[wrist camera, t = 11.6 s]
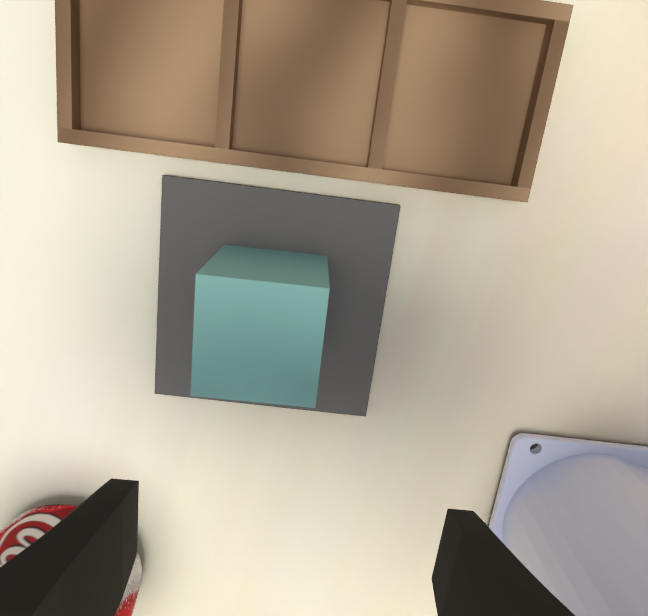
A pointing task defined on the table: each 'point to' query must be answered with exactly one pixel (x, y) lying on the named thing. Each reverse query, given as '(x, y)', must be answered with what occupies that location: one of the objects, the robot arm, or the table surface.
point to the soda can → (41, 521)
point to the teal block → (259, 326)
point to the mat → (283, 235)
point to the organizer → (318, 85)
